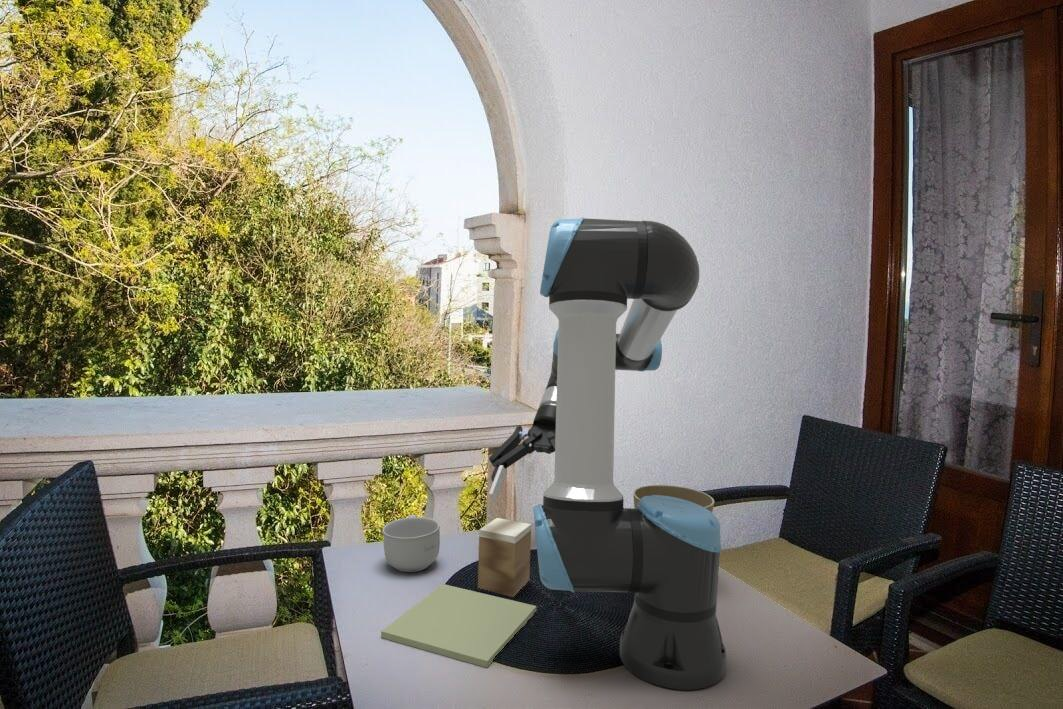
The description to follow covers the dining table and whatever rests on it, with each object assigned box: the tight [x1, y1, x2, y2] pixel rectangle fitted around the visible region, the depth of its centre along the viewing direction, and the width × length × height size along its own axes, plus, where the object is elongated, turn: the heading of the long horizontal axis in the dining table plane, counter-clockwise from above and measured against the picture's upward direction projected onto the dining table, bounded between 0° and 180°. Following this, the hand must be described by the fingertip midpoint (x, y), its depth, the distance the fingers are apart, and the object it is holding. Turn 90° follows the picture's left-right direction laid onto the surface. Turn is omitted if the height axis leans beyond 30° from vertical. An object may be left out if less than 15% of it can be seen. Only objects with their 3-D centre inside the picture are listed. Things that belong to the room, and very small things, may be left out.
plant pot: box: [632, 484, 715, 513], centre depth 121 cm, size 15×15×16 cm
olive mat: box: [380, 583, 537, 668], centre depth 102 cm, size 18×18×1 cm
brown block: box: [477, 517, 532, 598], centre depth 115 cm, size 7×7×11 cm
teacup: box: [381, 514, 441, 573], centre depth 124 cm, size 14×11×8 cm
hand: (524, 502), depth 123 cm, fingers open, 13 cm apart
